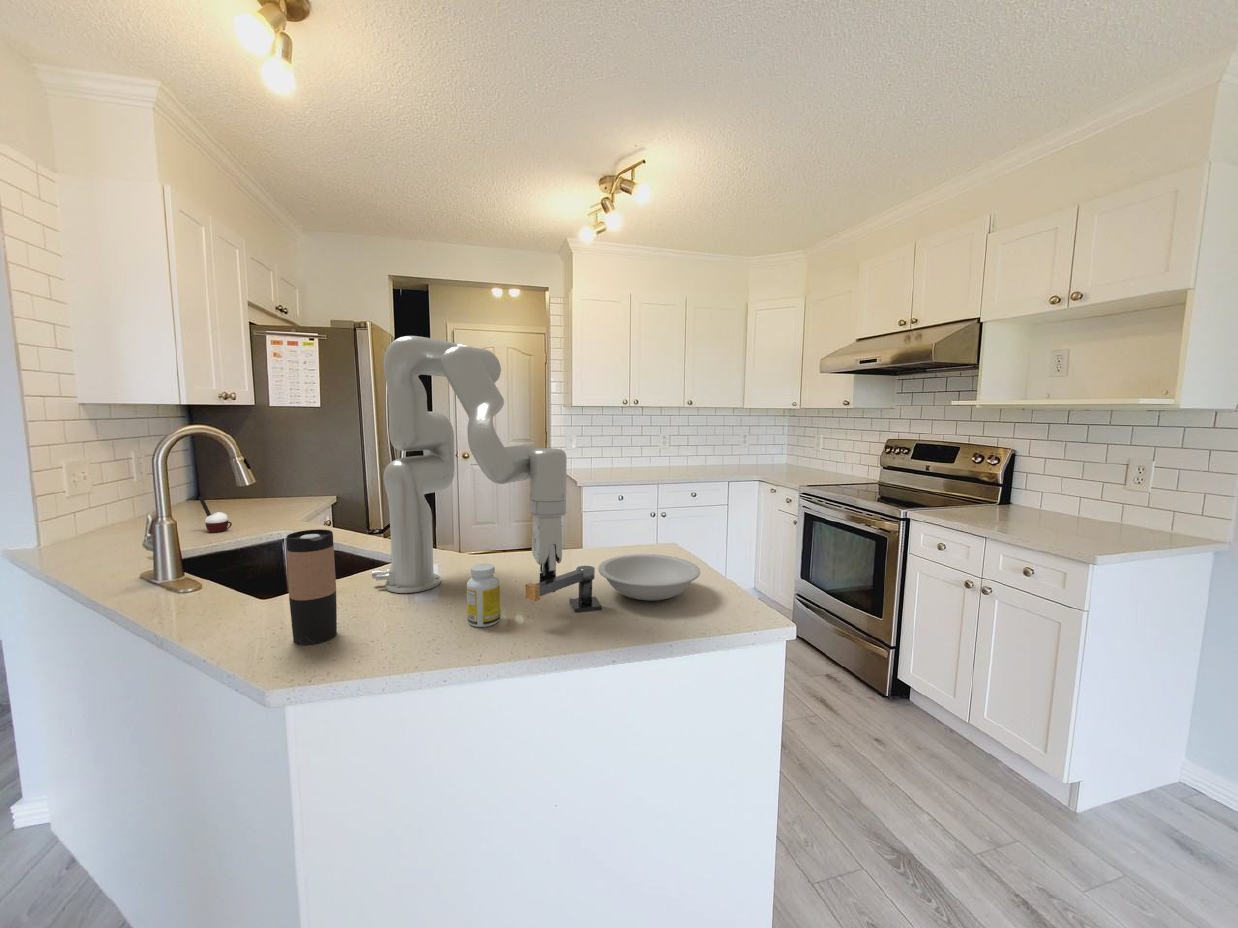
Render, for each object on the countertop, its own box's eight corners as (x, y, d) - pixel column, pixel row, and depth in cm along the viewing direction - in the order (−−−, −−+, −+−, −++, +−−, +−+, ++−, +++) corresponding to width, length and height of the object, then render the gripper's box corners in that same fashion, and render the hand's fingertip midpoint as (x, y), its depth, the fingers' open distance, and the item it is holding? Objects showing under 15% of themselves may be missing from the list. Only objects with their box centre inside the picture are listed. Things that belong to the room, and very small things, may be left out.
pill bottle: (506, 618, 108) (505, 564, 106) (488, 630, 102) (487, 573, 100) (479, 613, 110) (478, 560, 108) (460, 625, 104) (459, 569, 102)
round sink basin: (719, 594, 123) (720, 568, 122) (655, 624, 105) (656, 593, 105) (642, 572, 139) (643, 548, 138) (576, 594, 122) (576, 567, 121)
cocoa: (235, 531, 179) (235, 497, 178) (216, 535, 173) (216, 500, 172) (215, 528, 182) (215, 494, 181) (196, 531, 176) (196, 497, 175)
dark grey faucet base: (574, 612, 111) (574, 585, 110) (569, 602, 117) (569, 576, 116) (601, 609, 113) (601, 582, 112) (595, 599, 118) (595, 574, 118)
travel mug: (304, 628, 101) (299, 529, 99) (345, 627, 102) (340, 528, 100) (283, 646, 94) (276, 539, 92) (326, 645, 94) (321, 538, 92)
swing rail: (585, 575, 117) (585, 563, 117) (598, 578, 114) (598, 566, 114) (523, 597, 103) (523, 583, 103) (537, 601, 100) (537, 588, 100)
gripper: (525, 501, 114) (525, 581, 116) (536, 515, 100) (535, 606, 102) (558, 500, 116) (557, 578, 118) (573, 513, 102) (572, 602, 104)
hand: (547, 591), depth 110 cm, fingers closed
